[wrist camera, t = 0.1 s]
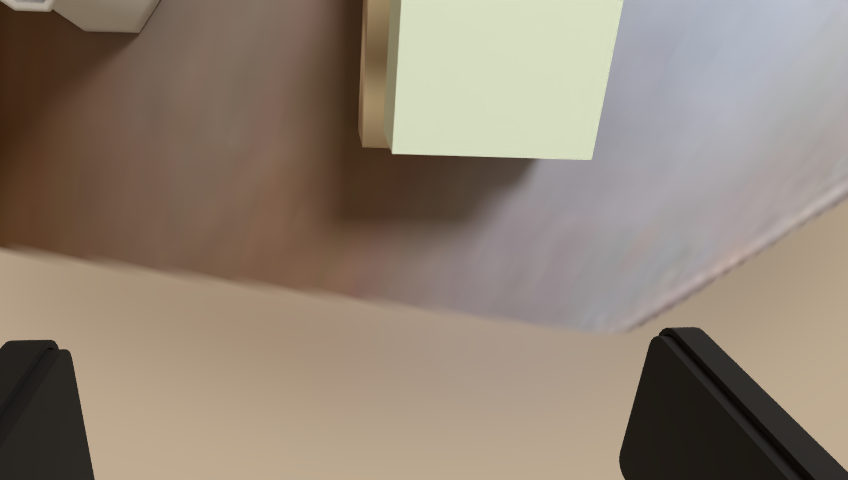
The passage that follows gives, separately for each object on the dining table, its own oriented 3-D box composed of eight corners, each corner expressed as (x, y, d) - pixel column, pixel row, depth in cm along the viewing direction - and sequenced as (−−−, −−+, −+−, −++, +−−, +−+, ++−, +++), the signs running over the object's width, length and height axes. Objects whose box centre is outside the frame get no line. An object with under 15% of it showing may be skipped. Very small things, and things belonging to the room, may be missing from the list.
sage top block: (394, -82, 31) (406, -87, 27) (597, -62, 33) (636, -64, 29) (383, 130, 36) (392, 153, 32) (562, 137, 38) (591, 159, 34)
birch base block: (366, -100, 35) (372, -107, 31) (582, -77, 37) (615, -80, 33) (357, 127, 40) (362, 146, 36) (547, 135, 42) (571, 154, 38)
